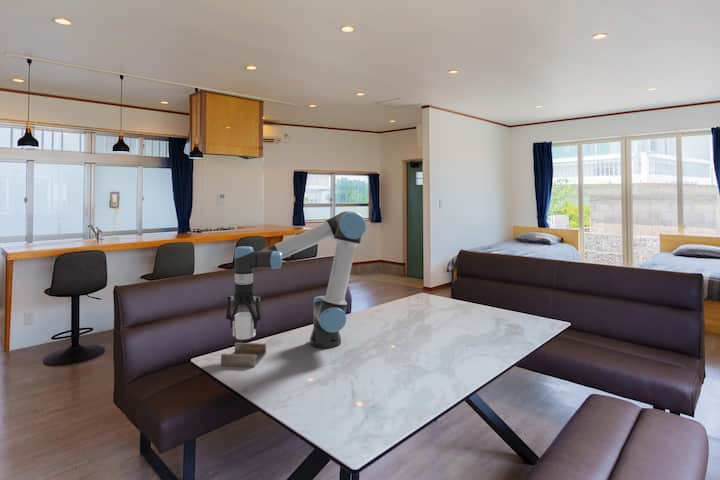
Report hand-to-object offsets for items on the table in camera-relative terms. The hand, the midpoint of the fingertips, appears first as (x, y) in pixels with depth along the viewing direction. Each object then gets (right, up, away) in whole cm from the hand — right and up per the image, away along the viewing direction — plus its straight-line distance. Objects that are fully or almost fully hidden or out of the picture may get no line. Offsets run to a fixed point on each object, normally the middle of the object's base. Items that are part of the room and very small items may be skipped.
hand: (244, 335), depth 174 cm
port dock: (0, -10, +1) cm, 10 cm away
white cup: (0, -1, 0) cm, 1 cm away
